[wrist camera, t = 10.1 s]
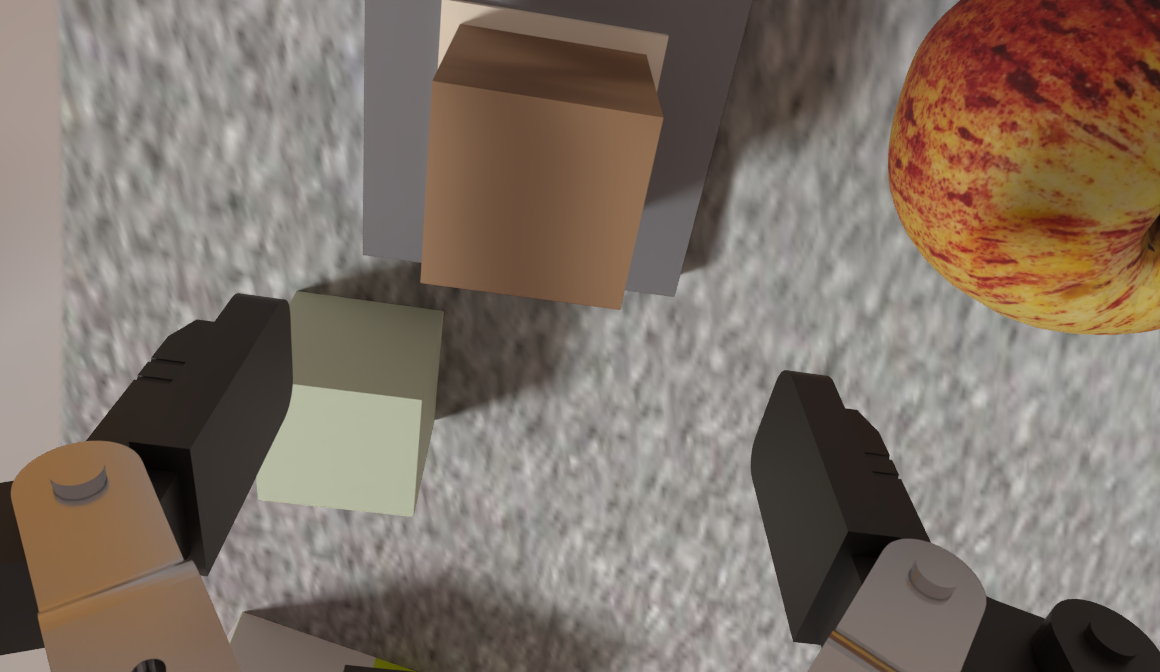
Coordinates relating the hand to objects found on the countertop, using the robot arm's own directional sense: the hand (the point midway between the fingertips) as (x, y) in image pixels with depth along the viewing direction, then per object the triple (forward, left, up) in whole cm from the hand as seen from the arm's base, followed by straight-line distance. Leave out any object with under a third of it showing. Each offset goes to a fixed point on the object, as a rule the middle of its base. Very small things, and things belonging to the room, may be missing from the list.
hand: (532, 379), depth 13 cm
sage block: (+5, +10, -13) cm, 17 cm away
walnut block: (0, 0, -12) cm, 12 cm away
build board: (0, 0, -13) cm, 13 cm away
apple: (-13, -3, -13) cm, 19 cm away
